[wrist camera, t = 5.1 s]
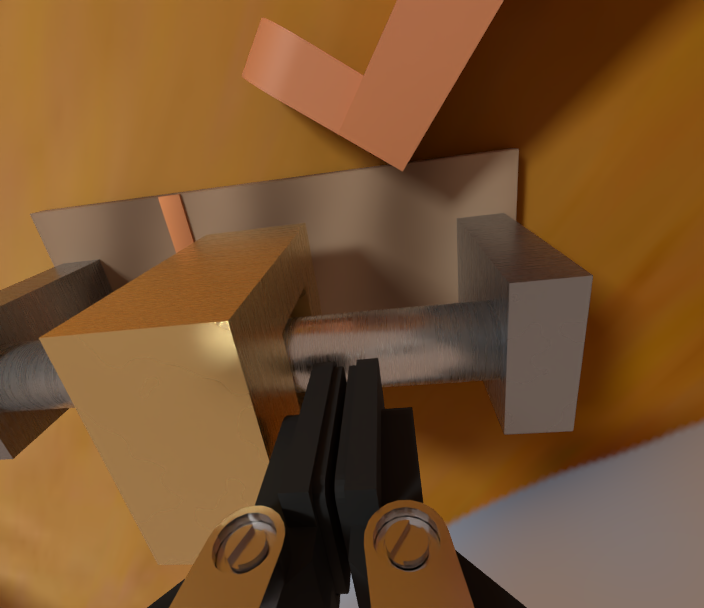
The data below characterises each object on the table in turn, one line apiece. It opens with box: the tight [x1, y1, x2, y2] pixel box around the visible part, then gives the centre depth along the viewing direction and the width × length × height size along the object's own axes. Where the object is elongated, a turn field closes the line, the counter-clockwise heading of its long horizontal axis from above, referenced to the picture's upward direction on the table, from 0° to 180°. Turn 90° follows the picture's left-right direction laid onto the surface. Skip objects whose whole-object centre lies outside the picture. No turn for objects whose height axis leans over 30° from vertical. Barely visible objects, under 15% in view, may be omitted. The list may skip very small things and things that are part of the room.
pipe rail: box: [0, 213, 593, 460], centre depth 16 cm, size 21×5×8 cm, turn 98°
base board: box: [30, 148, 519, 315], centre depth 19 cm, size 22×10×1 cm, turn 98°
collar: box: [39, 223, 322, 565], centre depth 13 cm, size 4×7×8 cm, turn 7°
